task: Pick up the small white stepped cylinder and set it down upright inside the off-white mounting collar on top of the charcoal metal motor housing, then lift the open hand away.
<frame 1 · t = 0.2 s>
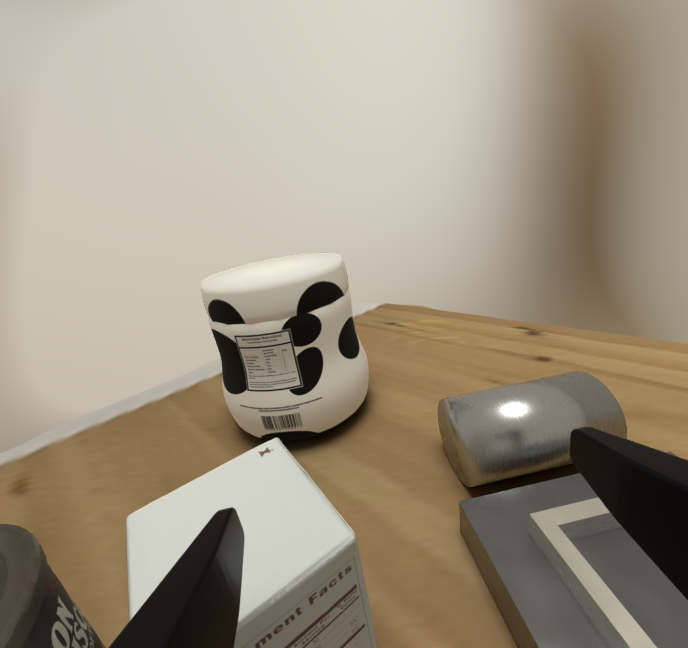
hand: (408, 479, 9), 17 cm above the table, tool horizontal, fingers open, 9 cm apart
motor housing: (681, 640, 17), on the table
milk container: (305, 408, 42), on the table
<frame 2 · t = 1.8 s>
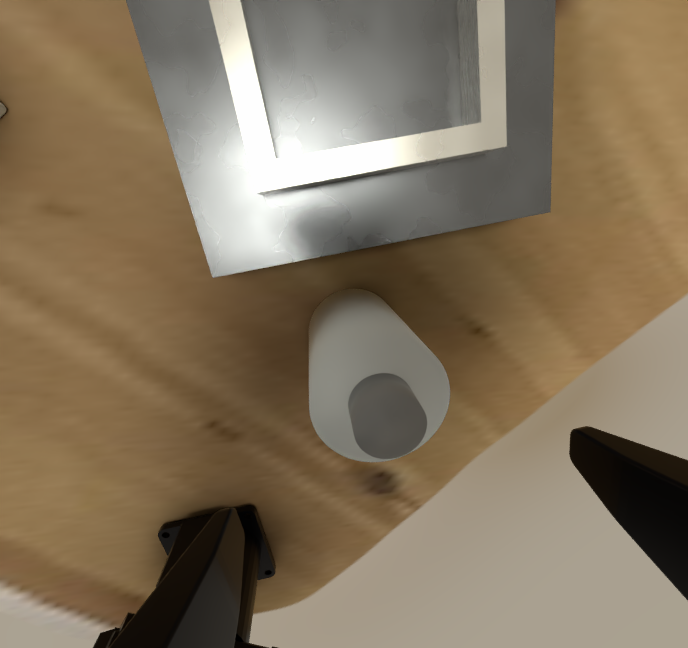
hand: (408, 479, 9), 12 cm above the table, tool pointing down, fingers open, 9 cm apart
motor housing: (347, 67, 15), on the table
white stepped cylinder: (352, 331, 19), on the table
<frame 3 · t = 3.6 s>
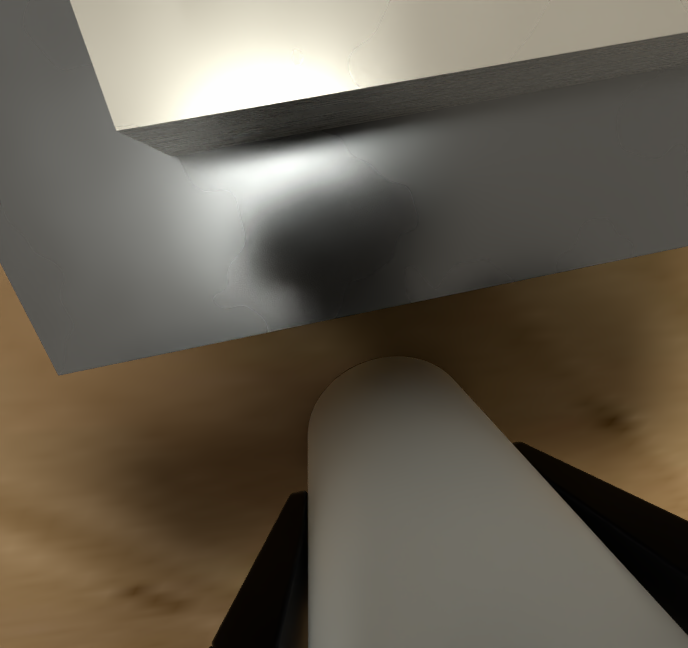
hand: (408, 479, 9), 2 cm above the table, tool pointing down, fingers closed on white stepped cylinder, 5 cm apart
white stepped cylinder: (389, 431, 10), on the table, touching gripper
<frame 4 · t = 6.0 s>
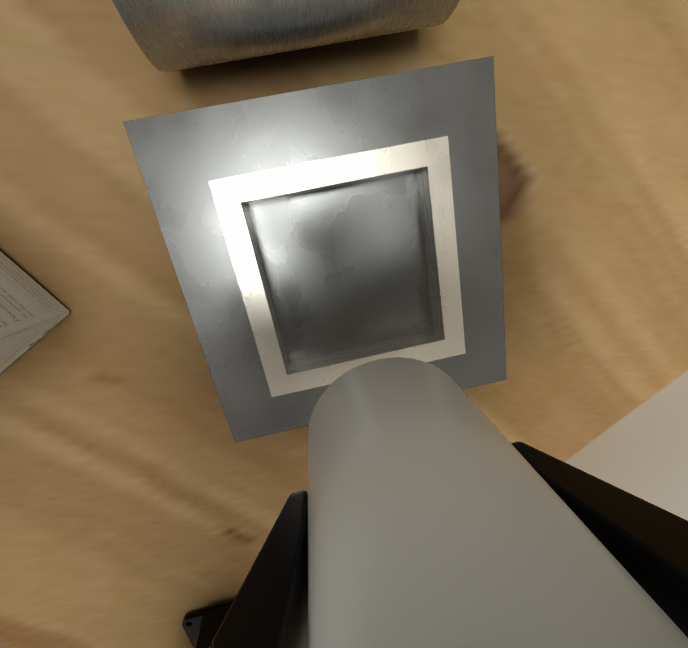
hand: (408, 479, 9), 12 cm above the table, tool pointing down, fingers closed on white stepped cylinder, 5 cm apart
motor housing: (341, 265, 19), on the table
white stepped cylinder: (389, 432, 10), point 10 cm above the table, touching gripper
when the fingers open (6 cm above the table, at t = 8.5 s): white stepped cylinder drops 1 cm, resting on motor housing.
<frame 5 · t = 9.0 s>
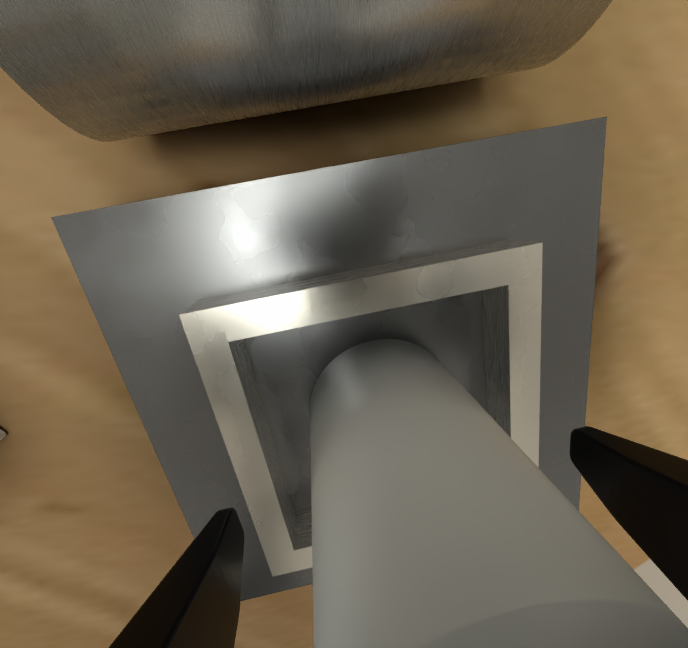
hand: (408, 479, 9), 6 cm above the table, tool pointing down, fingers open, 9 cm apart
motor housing: (365, 369, 15), on the table
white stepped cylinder: (382, 406, 12), point 3 cm above the table, touching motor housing
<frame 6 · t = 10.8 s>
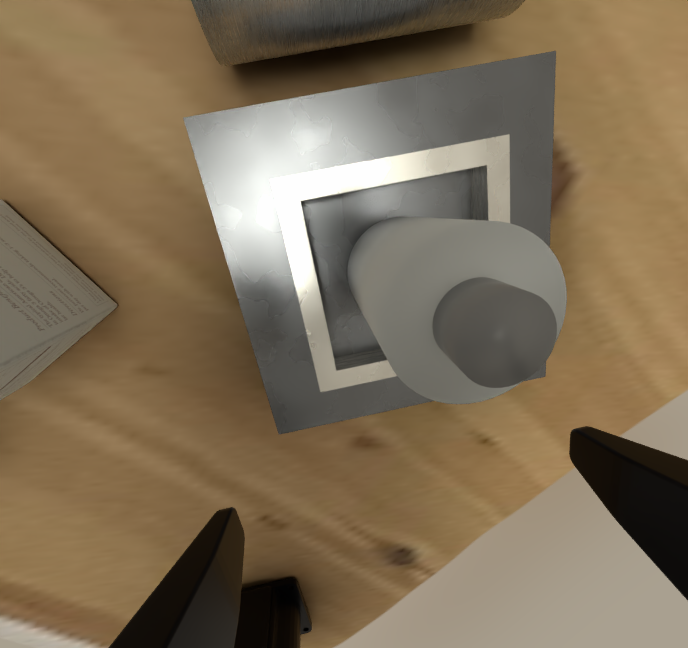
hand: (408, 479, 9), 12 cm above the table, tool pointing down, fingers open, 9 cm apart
supplement box: (24, 296, 18), on the table
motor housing: (384, 262, 19), on the table
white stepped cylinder: (398, 271, 16), point 3 cm above the table, touching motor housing
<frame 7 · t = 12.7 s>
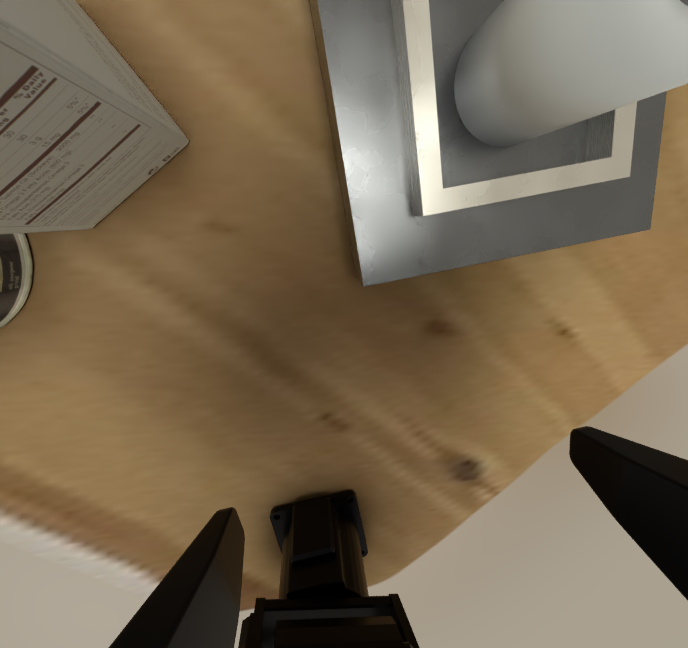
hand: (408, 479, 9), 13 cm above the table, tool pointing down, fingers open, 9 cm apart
supplement box: (88, 127, 16), on the table
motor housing: (475, 104, 18), on the table
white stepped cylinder: (509, 83, 15), point 3 cm above the table, touching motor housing
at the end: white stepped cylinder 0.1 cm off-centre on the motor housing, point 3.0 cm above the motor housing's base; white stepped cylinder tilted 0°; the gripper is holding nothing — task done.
